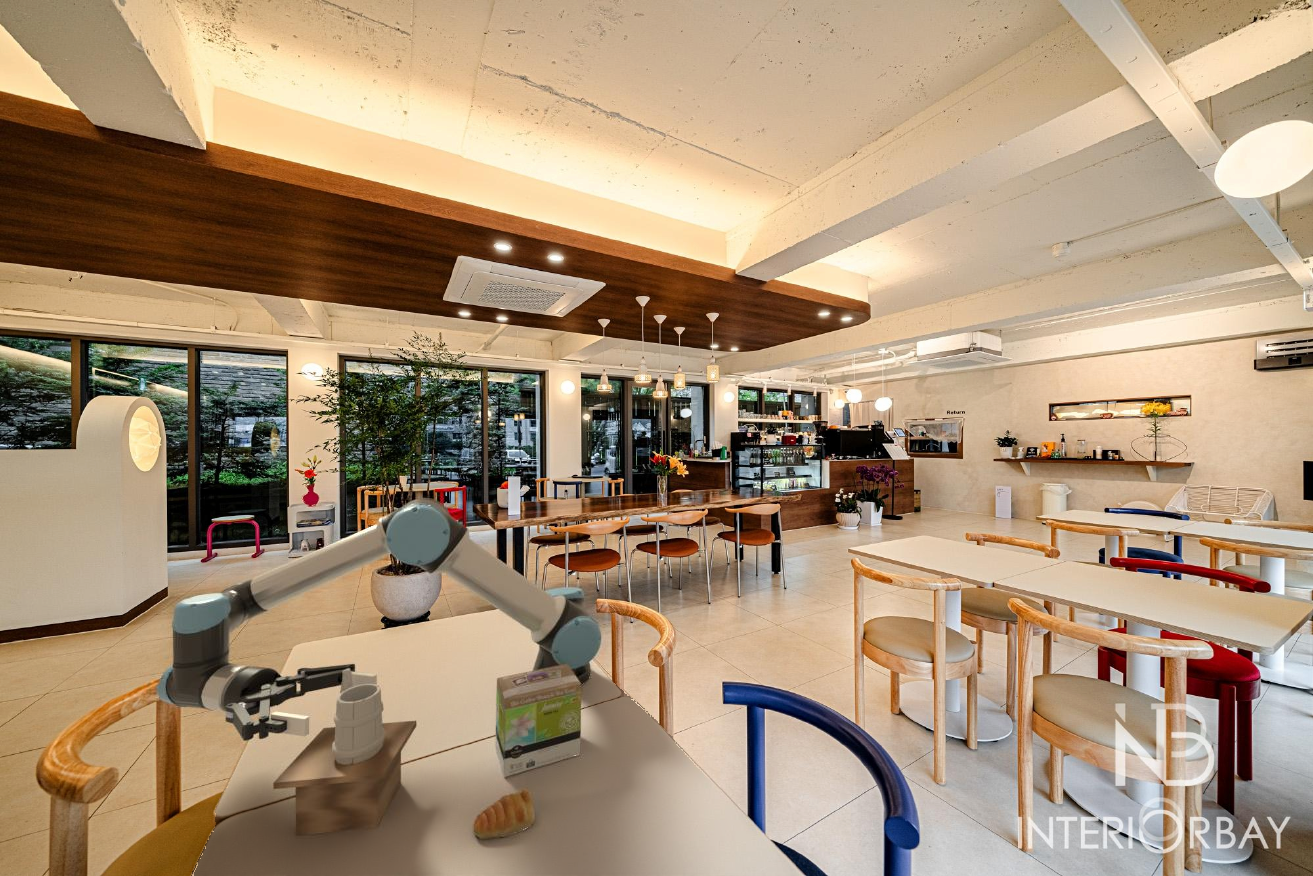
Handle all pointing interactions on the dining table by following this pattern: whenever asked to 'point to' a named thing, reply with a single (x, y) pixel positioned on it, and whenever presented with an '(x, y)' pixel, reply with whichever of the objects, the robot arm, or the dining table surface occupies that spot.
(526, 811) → the pastry
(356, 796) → the walnut stand
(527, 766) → the tea box
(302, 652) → the dining table surface
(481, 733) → the dining table surface
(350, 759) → the mug
